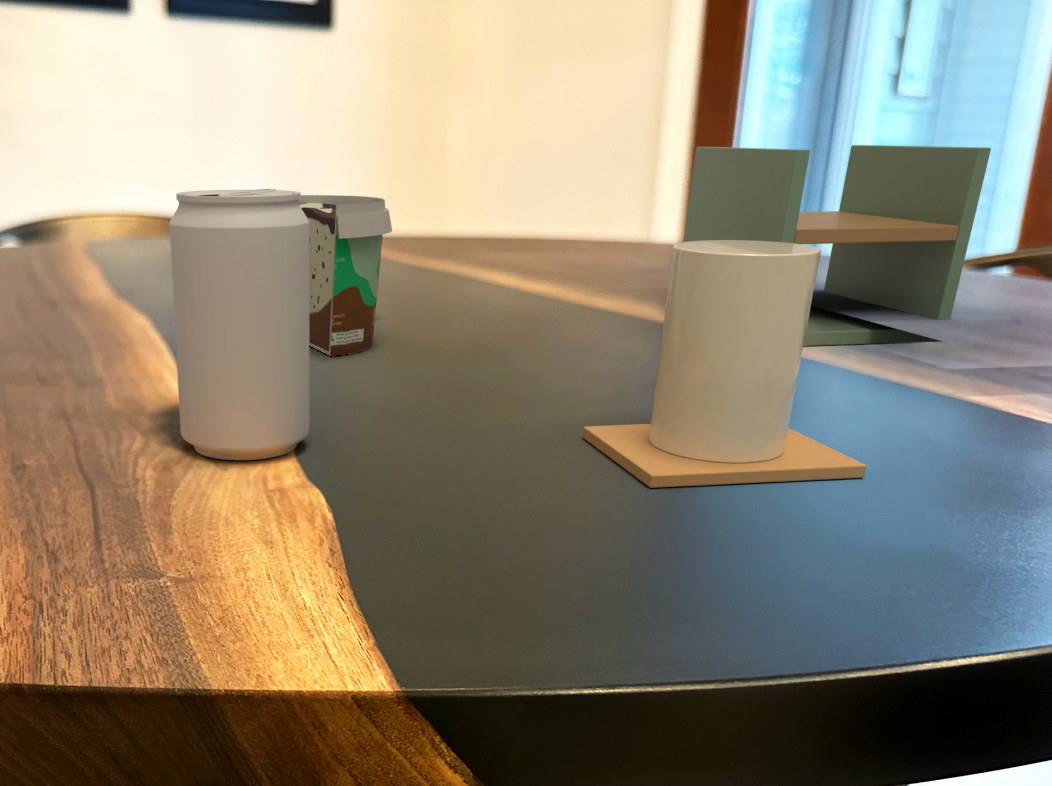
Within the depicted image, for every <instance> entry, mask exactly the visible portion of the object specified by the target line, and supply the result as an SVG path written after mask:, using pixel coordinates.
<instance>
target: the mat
mask: <svg viewBox="0 0 1052 786" xmlns="http://www.w3.org/2000/svg"><path fill="white" fill-rule="evenodd" d="M650 424H651V423H637V424H615V425H614V424H613V425H612V424H611V425H588V426H583V428H582V429H583V430H582V438H583V439H584V440H585V441H586V442H588V444H591V445H592V446H593V447H594V448H596V449H597V450H599V451H600V452H602V453H603V454H604V455H605V456H607V457H608V458H609V459H611V460H612V461H614V462H615V463H616V464H618V466H620V467H622V468H623V469H624V470H626V471H627V472H628V473H629V474H631V475H633V477H635V478H636V479H638V480H639V481H640V482H642V483H643V484H645V485H646V486H647V487H649V488H650V489H654V488H655V489H657V488H673V487H674V488H677V487H694V486H695V487H698V486H699V487H701V486H717V485H718V486H719V485H720V486H721V485H738V484H740V485H741V484H756V483H757V484H758V483H759V484H760V483H777V482H778V483H783V482H801V481H821V480H824V481H825V480H843V479H863V478H865V475H866V470H867V465H866V464H865V463H862V462H860V461H858V460H856V459H854V458H852V457H850V456H848V455H846V454H844V453H841V452H840V451H838V450H835V449H833V448H831V447H829V446H827V445H825V444H823V443H821V442H819V441H817V440H814V439H813V438H811V437H809V436H806V435H804V434H802V433H800V432H798V431H796V430H794V429H791V428H790V427H788V432H787V437H786V443H785V448H784V452H783V453H782V455H781V456H779V457H777V458H775V459H771V460H767V461H762V462H753V463H720V462H709V461H701V460H695V459H690V458H685V457H681V456H677V455H673V454H670V453H667V452H665V451H662V450H660V449H658V448H656V447H655V446H653V445H652V444H651V443H650V441H649V432H650Z"/></svg>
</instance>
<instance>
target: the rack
mask: <svg viewBox="0 0 1052 786" xmlns="http://www.w3.org/2000/svg"><path fill="white" fill-rule="evenodd" d="M991 152H992V148H991V147H982V146H981V147H980V146H979V147H978V146H976V147H975V146H937V145H936V146H934V145H933V146H932V145H883V144H882V145H881V144H880V145H879V144H852V145H850V149H849V155H848V161H847V166H846V173H845V175H844V182H843V188H842V193H841V198H840V202H839V209H838V210H836V211H835V210H832V211H828V210H827V211H801V205H802V200H803V193H804V188H805V184H806V183H805V182H806V177H807V170H808V164H809V159H810V154H811V150H810V149H800V148H799V149H796V148H793V149H792V148H765V147H764V148H763V147H761V148H760V147H731V146H730V147H729V146H696V147H695V154H694V161H693V169H692V175H691V176H692V177H691V181H690V182H691V184H690V190H689V191H690V192H689V199H688V204H687V205H688V206H687V213H686V221H685V229H684V237H683V242H690V241H705V240H749V241H771V242H784V243H795V244H803V245H823V244H824V245H826V244H828V245H831V244H832V245H831V251H830V256H829V261H828V267H827V271H826V277H825V282H824V288H823V293H827V294H831V295H835V296H840V297H844V298H847V299H852V300H856V301H859V302H863V303H867V304H871V305H875V306H880V307H884V308H889V309H892V310H896V311H901V312H905V313H908V314H913V315H917V316H920V317H924V318H928V319H933V320H937V321H945V320H948V321H949V320H951V318H952V314H953V309H954V305H955V301H956V297H957V292H958V290H959V285H960V280H961V276H962V272H963V268H964V264H965V259H966V256H967V251H968V247H969V243H970V238H971V234H972V230H973V226H974V222H975V218H976V213H977V209H978V205H979V201H980V197H981V194H982V189H983V185H984V181H985V176H986V172H987V168H988V164H989V159H990V155H991ZM931 342H932V343H934V342H935V343H936V342H941V340H940V339H936V338H932V337H929V336H925V335H923V334H918V333H914V332H911V331H908V330H907V331H906V330H904V329H899V328H895V327H892V326H888V325H885V324H881V323H877V322H873V321H871V320H866V319H863V318H859V317H855V316H852V315H848V314H844V313H841V312H838V311H837V312H836V311H834V310H829V309H826V308H822V307H820V306H815V305H812V304H811V308H810V313H809V319H808V324H807V329H806V335H805V340H804V346H803V347H816V346H817V347H818V346H843V345H845V346H846V345H847V346H849V345H874V344H877V345H878V344H879V345H880V344H902V343H903V344H904V343H905V344H906V343H931Z"/></svg>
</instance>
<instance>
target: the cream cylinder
mask: <svg viewBox="0 0 1052 786" xmlns="http://www.w3.org/2000/svg"><path fill="white" fill-rule="evenodd" d="M821 253H822V250H821V248H819V247H816V246H813V245H810V244H795V243H784V242H771V241H749V240H705V241H690V242H684V241H683V242H679V243H676V244H674V245H673V248H672V256H671V263H670V264H671V265H670V272H669V279H668V285H667V286H668V287H667V294H666V300H665V301H666V302H665V310H664V316H663V323H662V324H663V326H662V333H661V341H660V348H659V349H660V350H659V354H658V355H659V356H658V364H657V371H656V379H655V387H654V393H653V400H652V401H653V402H652V409H651V417H650V423H649V424H650V432H649V441H650V443H651V444H652V445H653V446H655V447H656V448H658V449H660V450H662V451H665V452H667V453H670V454H673V455H677V456H681V457H685V458H690V459H695V460H701V461H709V462H720V463H753V462H762V461H767V460H771V459H775V458H777V457H779V456H781V455H782V453H783V452H784V448H785V443H786V437H787V432H788V428H790V427H789V426H790V420H791V415H792V410H793V405H794V400H795V395H796V394H795V393H796V389H797V383H798V382H797V381H798V377H799V372H800V367H801V361H802V356H803V355H802V354H803V352H804V351H803V350H804V347H805V346H804V340H805V335H806V329H807V324H808V319H809V313H810V308H811V305H812V302H813V297H814V292H815V287H816V286H815V285H816V281H817V275H818V271H819V263H820V258H821Z"/></svg>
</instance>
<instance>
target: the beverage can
mask: <svg viewBox="0 0 1052 786" xmlns="http://www.w3.org/2000/svg"><path fill="white" fill-rule="evenodd" d="M175 195H176V196H175V197H176V201H177V202H178V206H177V208H176V210H175V211H174V213H173V215H172V217H171V219H170V221H169V224H168V225H169V239H170V240H169V241H170V255H171V256H170V261H171V277H172V296H173V299H172V300H173V314H174V315H173V316H174V317H173V318H174V335H175V337H174V338H175V354H176V372H177V391H178V410H179V411H178V412H179V429H180V435H181V437H182V439H183V440H184V441H186V442H187V443H188V444H190V445H192V446H193V448H194V450H195V452H197V453H198V454H200V455H202V456H204V457H208V458H212V459H219V460H224V461H225V460H227V461H255V460H264V459H271V458H275V457H281V456H284V455H286V454H289V453H291V452H292V451H293V450H295V449H296V447H297V445H298V443H300V442H303V440H305V439H306V437H308V435H309V434H310V347H309V221H308V219H307V217H306V215H305V214H304V212H303V211H302V209H301V207H300V205H299V200H300V199H301V195H302V192H300V191H297V190H284V189H283V190H281V189H276V188H259V189H210V190H209V189H207V190H190V191H182V192H177V193H176V194H175Z"/></svg>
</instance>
